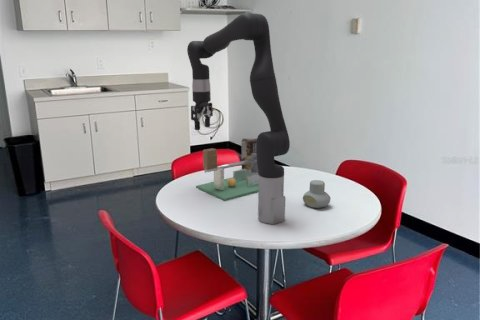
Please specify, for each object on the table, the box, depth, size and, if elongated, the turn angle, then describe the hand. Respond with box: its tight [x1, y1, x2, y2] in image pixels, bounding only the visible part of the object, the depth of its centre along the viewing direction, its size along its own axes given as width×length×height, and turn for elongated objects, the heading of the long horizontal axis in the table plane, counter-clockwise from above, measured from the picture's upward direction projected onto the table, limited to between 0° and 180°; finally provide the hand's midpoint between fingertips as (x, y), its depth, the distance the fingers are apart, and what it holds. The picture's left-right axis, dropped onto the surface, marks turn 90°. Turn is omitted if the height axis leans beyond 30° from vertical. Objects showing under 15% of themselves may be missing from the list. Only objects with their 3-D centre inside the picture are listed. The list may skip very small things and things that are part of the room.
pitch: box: [195, 176, 258, 202], centre depth 193 cm, size 22×24×1 cm
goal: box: [232, 168, 259, 187], centre depth 197 cm, size 11×6×5 cm, turn 38°
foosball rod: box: [202, 147, 257, 191], centre depth 191 cm, size 5×31×18 cm, turn 128°
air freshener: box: [302, 179, 331, 209], centre depth 171 cm, size 11×8×10 cm
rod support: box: [251, 153, 259, 174], centre depth 200 cm, size 7×2×14 cm, turn 38°
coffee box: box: [240, 138, 257, 171], centre depth 220 cm, size 9×6×16 cm
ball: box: [227, 177, 236, 187], centre depth 192 cm, size 4×4×4 cm
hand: (202, 128), depth 183 cm, fingers open, 8 cm apart
